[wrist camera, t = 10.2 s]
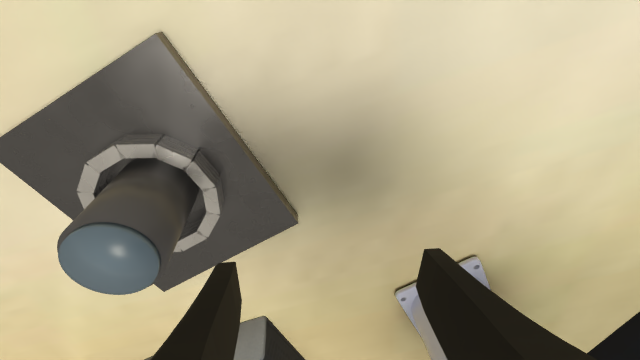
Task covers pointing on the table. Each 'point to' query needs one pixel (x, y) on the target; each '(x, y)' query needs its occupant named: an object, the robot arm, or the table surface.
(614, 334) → the book
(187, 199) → the blue-grey cylinder
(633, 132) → the table surface
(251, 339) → the external hard drive
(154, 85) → the metal base plate
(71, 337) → the table surface
